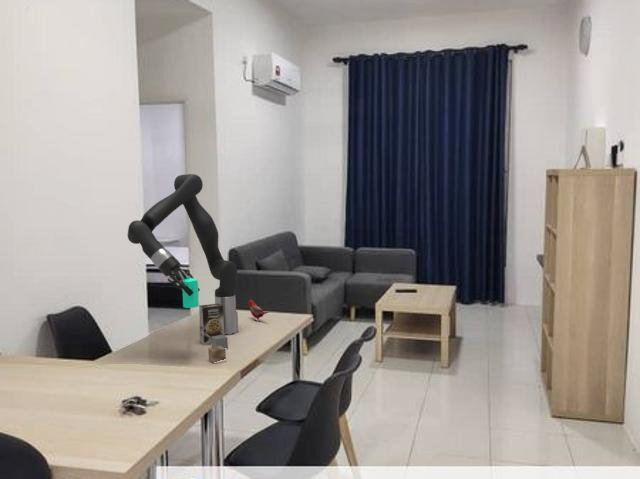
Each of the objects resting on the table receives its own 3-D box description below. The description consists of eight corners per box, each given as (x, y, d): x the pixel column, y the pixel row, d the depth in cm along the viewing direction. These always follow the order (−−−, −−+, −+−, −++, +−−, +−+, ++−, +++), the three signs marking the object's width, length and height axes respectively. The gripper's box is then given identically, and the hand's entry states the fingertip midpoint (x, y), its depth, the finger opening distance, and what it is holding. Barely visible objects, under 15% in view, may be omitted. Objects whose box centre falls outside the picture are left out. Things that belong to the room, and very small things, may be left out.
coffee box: (204, 345, 241) (202, 307, 239) (199, 341, 247) (198, 305, 245) (224, 342, 245) (223, 305, 244) (220, 338, 251) (219, 302, 249)
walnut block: (221, 358, 223) (220, 345, 223) (225, 361, 219) (225, 348, 218) (208, 360, 221) (208, 347, 220) (213, 364, 216) (212, 351, 216)
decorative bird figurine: (251, 318, 288) (250, 298, 287) (271, 324, 274) (270, 303, 273) (246, 318, 286) (245, 299, 285) (266, 325, 273) (265, 304, 272)
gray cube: (223, 346, 239) (222, 334, 239) (227, 349, 235) (227, 337, 235) (211, 348, 237) (211, 336, 236) (216, 351, 233) (215, 339, 232)
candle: (184, 304, 226) (183, 274, 224) (199, 304, 226) (198, 274, 225) (182, 308, 220) (180, 277, 219) (197, 307, 220) (196, 277, 219)
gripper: (162, 257, 216) (192, 290, 214) (179, 252, 230) (208, 283, 228) (150, 271, 218) (180, 303, 216) (168, 265, 231) (197, 295, 230)
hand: (194, 292), depth 222 cm, fingers closed on candle, 4 cm apart
